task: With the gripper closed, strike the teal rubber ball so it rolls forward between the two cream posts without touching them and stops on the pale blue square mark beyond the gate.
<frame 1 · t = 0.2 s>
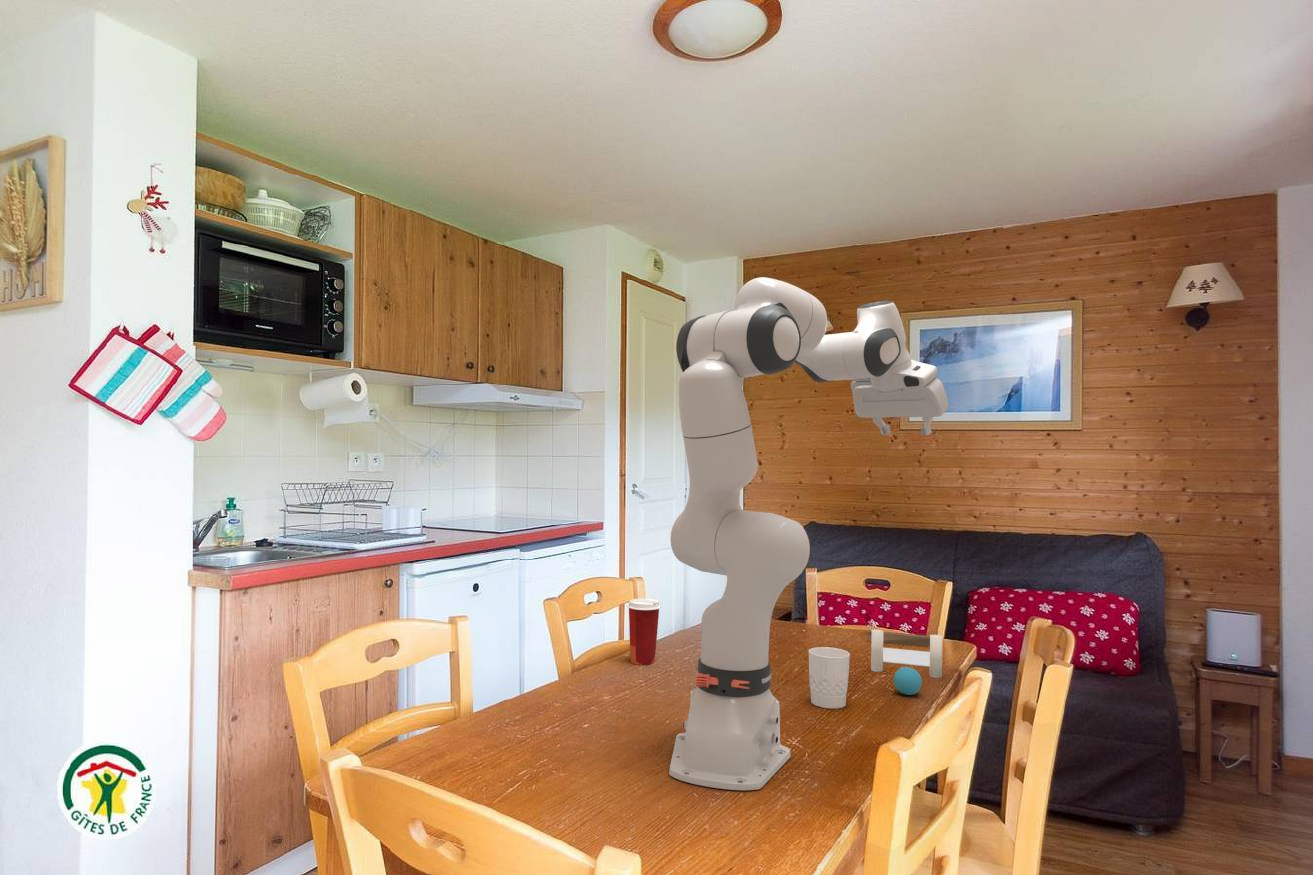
hand: (906, 433, 163), 54 cm above the table, tool tilted 30°, fingers open, 8 cm apart
post left: (876, 670, 172), on the table
post right: (935, 676, 168), on the table
white cup: (828, 704, 148), on the table
paper cup: (642, 662, 174), on the table
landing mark: (904, 657, 184), on the table
stopper wall: (903, 643, 198), on the table
ball: (907, 680, 155), on the table
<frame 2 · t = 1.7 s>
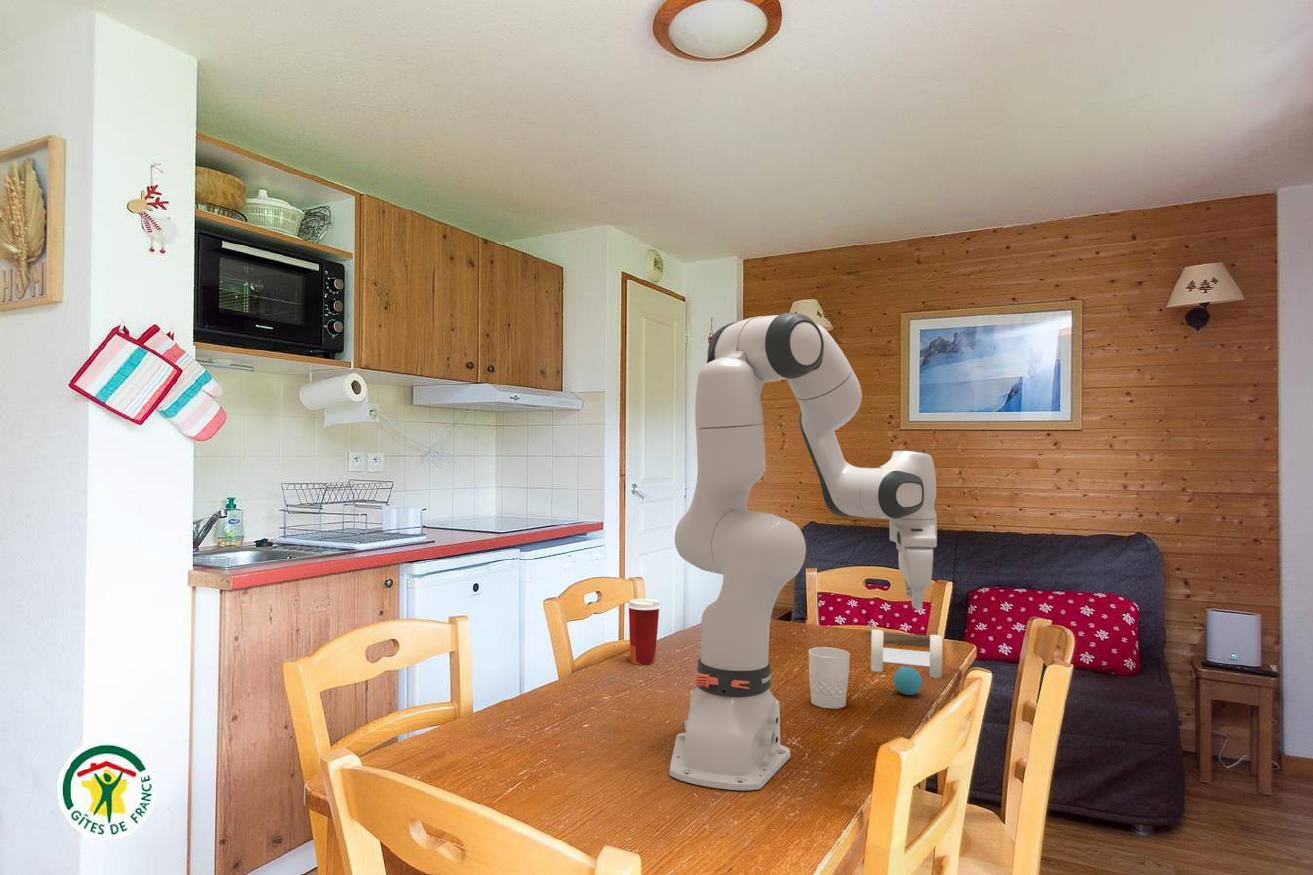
hand: (913, 602, 148), 20 cm above the table, tool pointing down, fingers open, 8 cm apart
nothing on the table moved.
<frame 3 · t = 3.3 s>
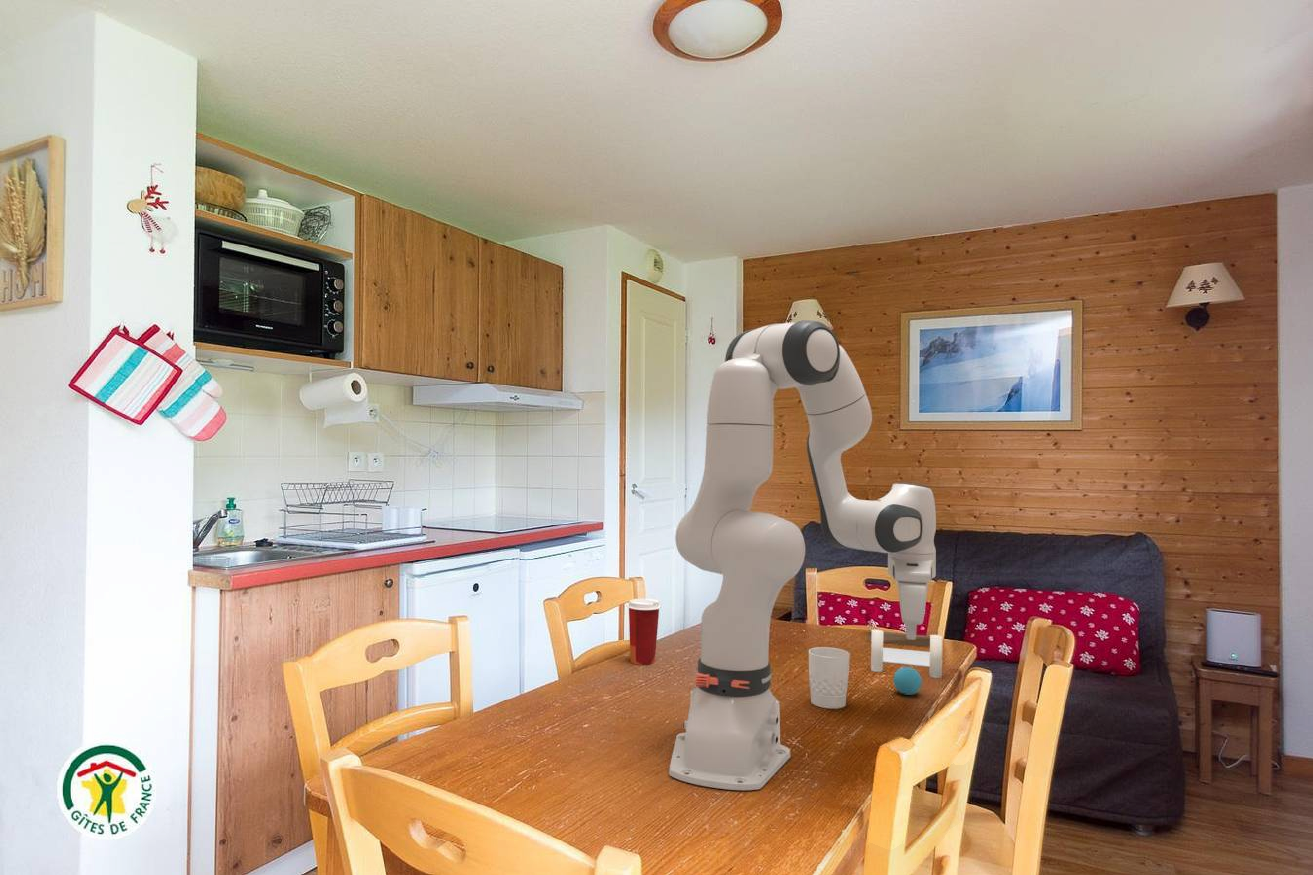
hand: (910, 637, 146), 14 cm above the table, tool pointing down, fingers closed
nothing on the table moved.
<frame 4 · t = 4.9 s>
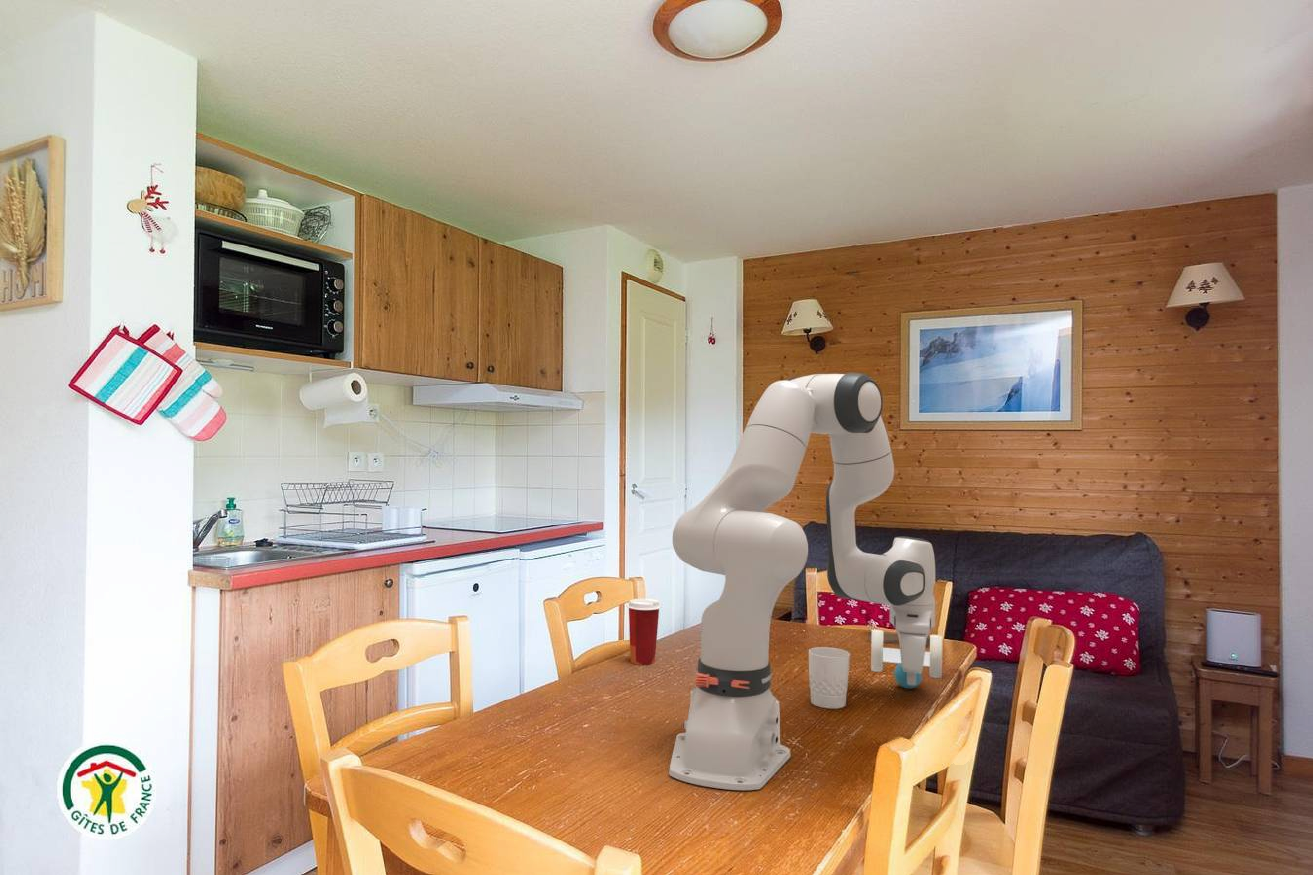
hand: (911, 683, 155), 2 cm above the table, tool pointing down, fingers closed
ball: (907, 674, 159), on the table
everything else where it was.
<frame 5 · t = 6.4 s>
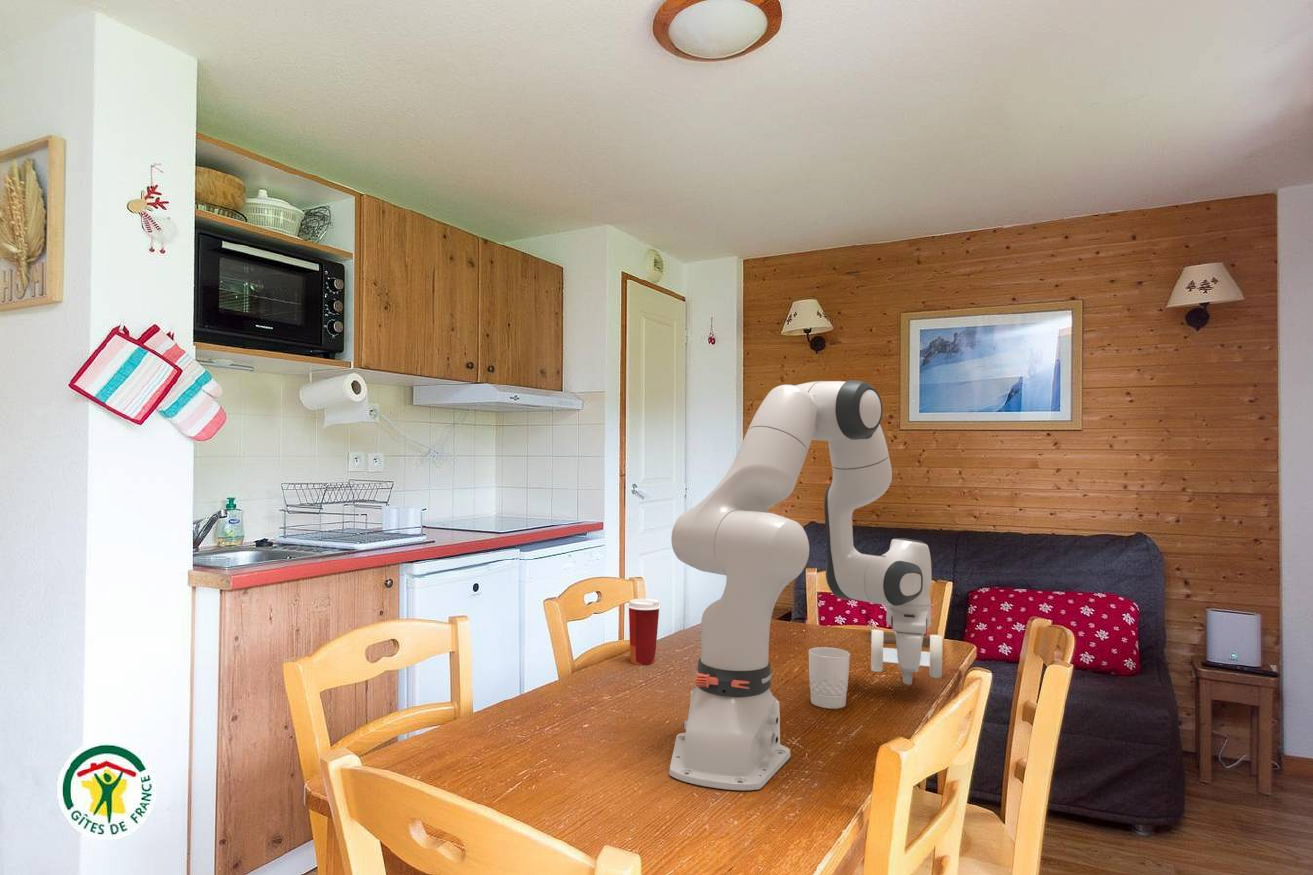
hand: (907, 682, 157), 2 cm above the table, tool pointing down, fingers closed
ball: (908, 647, 183), on the table
everything else where it was.
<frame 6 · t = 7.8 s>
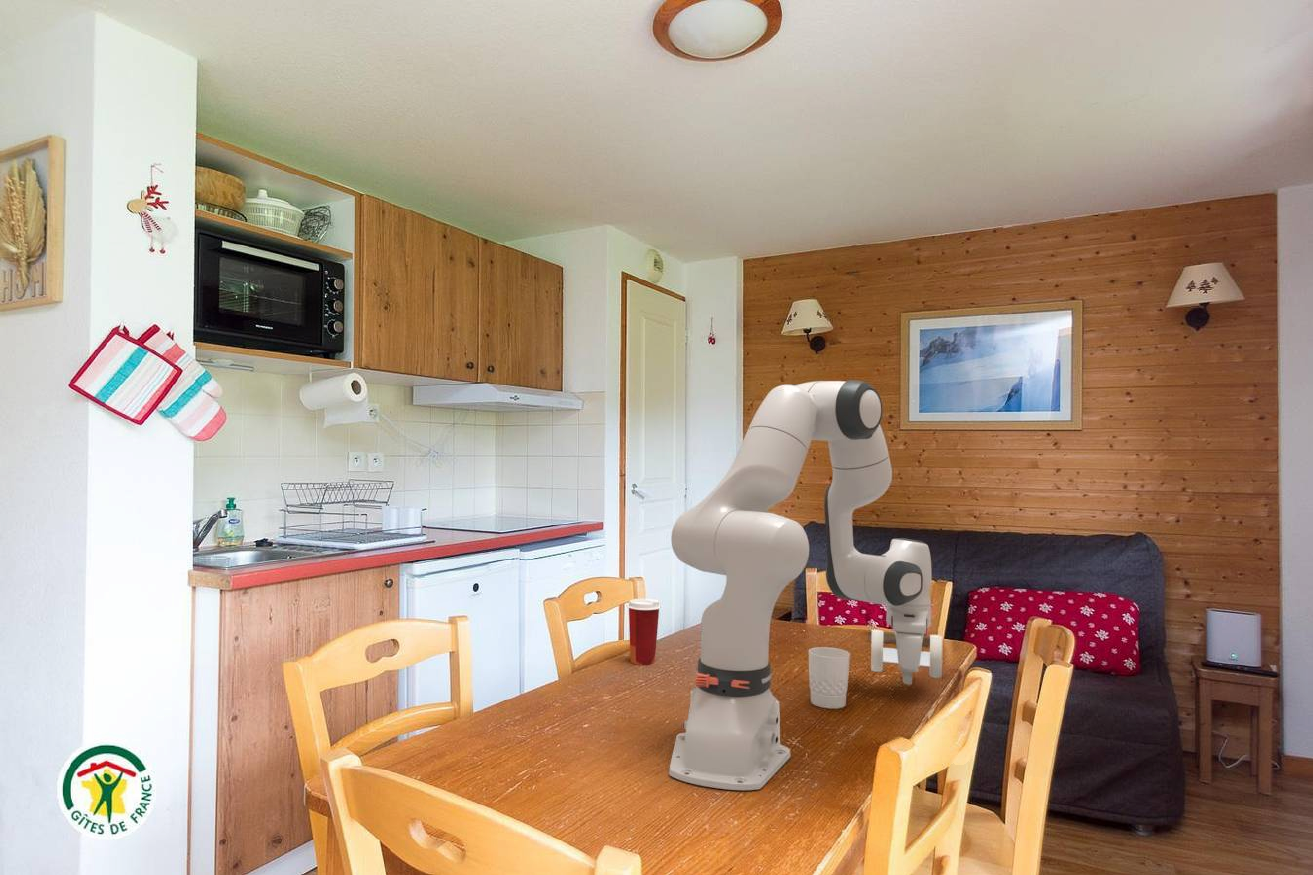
hand: (907, 682, 157), 2 cm above the table, tool pointing down, fingers closed
ball: (908, 640, 190), on the table
everything else where it was.
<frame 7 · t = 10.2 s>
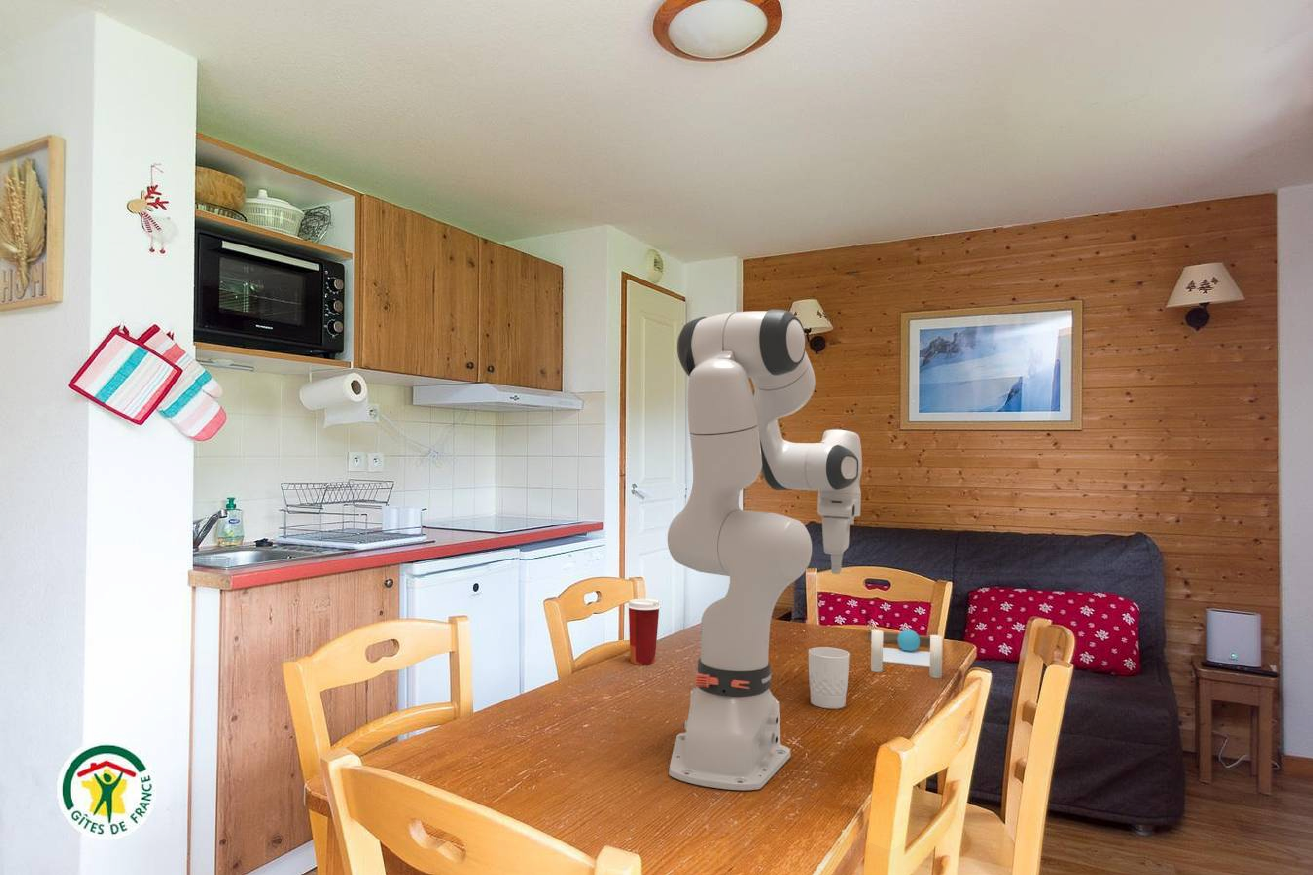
hand: (836, 573, 158), 24 cm above the table, tool pointing down, fingers closed
nothing on the table moved.
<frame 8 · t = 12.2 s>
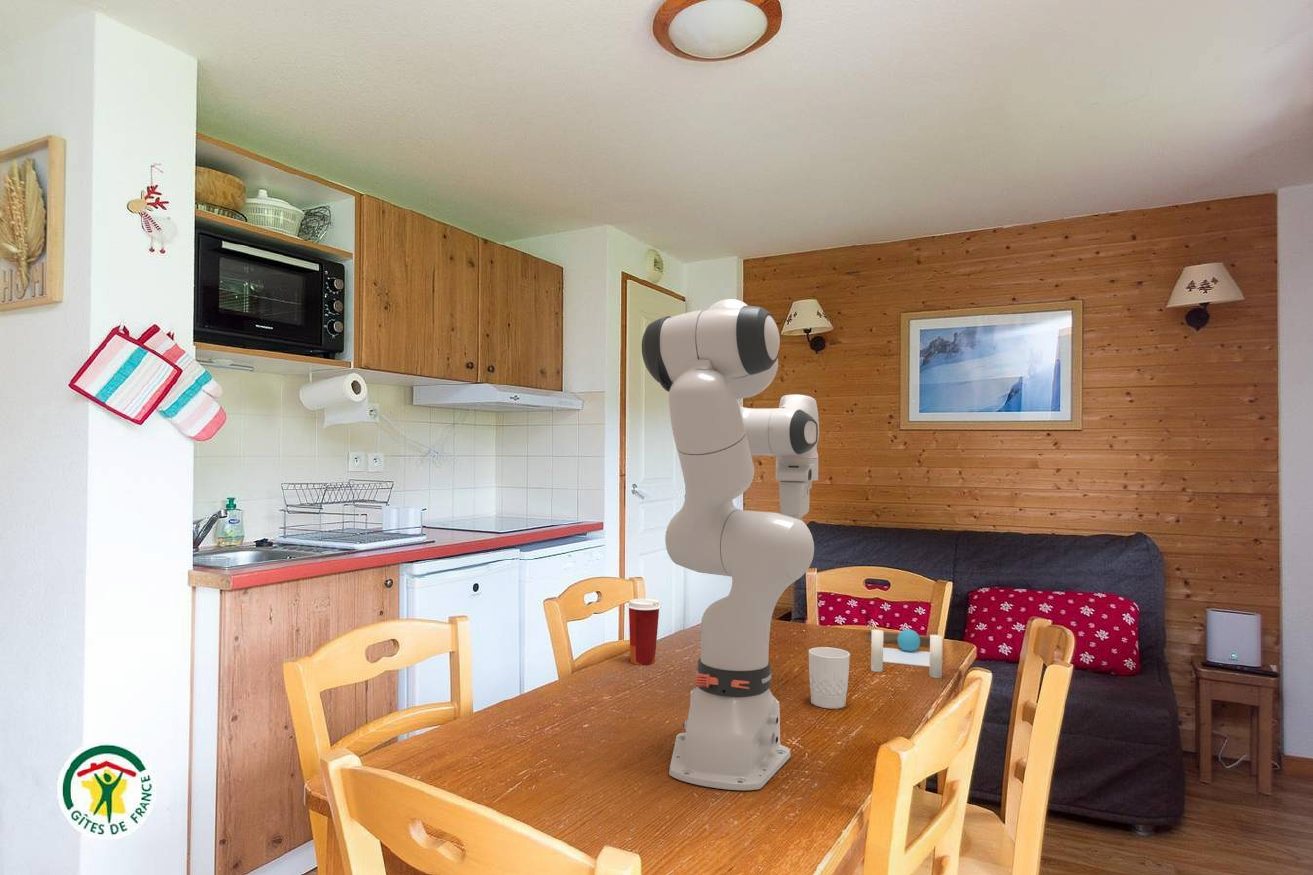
hand: (795, 537, 158), 31 cm above the table, tool pointing down, fingers closed
nothing on the table moved.
at the end: ball 6.3 cm from the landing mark (horizontally); ball never touched post left; ball never touched post right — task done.
